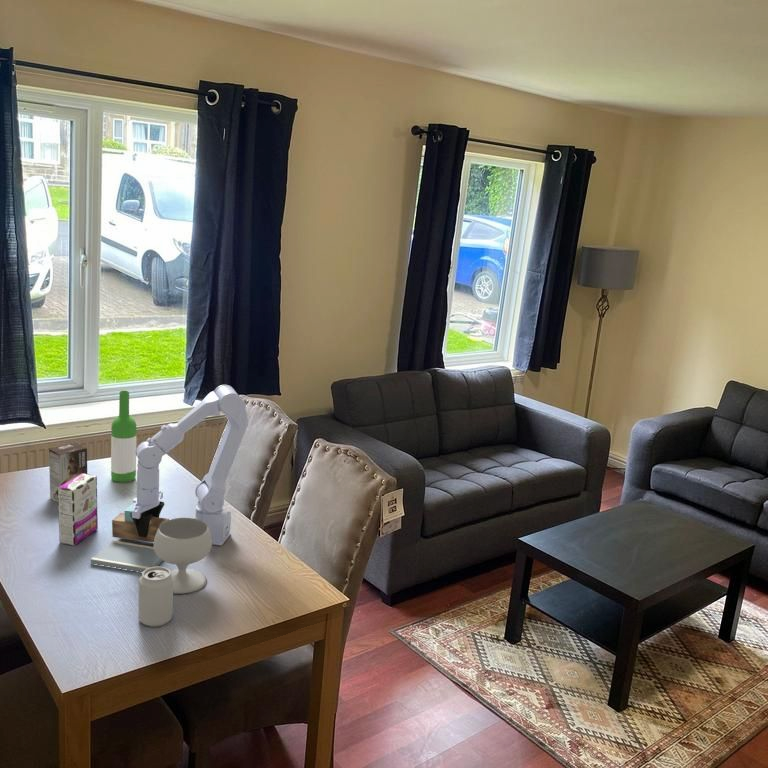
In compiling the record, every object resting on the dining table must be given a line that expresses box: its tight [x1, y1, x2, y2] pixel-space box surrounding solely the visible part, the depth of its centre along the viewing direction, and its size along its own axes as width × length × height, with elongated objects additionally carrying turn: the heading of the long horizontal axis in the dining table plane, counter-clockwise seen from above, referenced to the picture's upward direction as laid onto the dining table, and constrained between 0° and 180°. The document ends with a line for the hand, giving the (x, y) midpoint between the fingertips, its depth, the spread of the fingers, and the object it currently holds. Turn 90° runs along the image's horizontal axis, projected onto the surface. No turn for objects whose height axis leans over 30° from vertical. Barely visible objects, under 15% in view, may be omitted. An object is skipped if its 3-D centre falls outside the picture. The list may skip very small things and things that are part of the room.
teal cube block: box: [123, 504, 135, 522], centre depth 201 cm, size 4×4×3 cm
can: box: [138, 566, 174, 628], centre depth 167 cm, size 8×8×12 cm
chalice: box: [153, 517, 213, 595], centre depth 183 cm, size 14×14×15 cm
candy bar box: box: [57, 473, 99, 547], centre depth 200 cm, size 11×5×16 cm, turn 168°
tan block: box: [111, 512, 170, 543], centre depth 201 cm, size 14×5×5 cm, turn 82°
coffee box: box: [48, 442, 88, 503], centre depth 224 cm, size 9×6×16 cm
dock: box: [90, 539, 164, 572], centre depth 193 cm, size 16×11×2 cm
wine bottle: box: [110, 390, 137, 483], centre depth 239 cm, size 8×8×30 cm
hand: (147, 531), depth 201 cm, fingers closed on tan block, 5 cm apart
